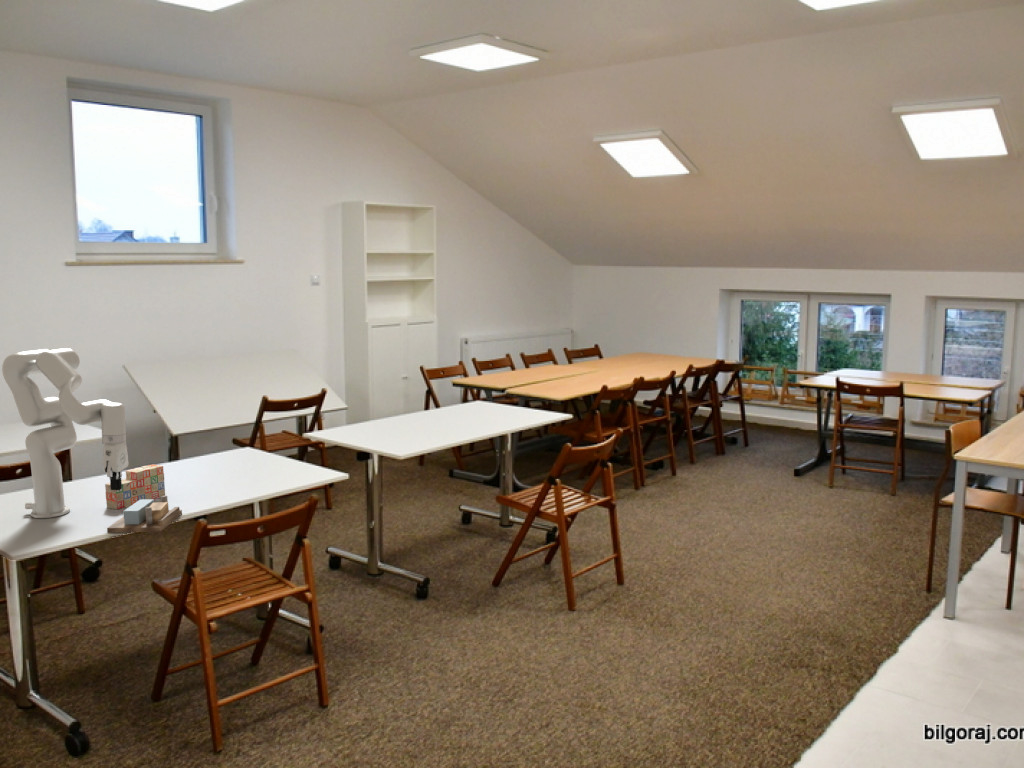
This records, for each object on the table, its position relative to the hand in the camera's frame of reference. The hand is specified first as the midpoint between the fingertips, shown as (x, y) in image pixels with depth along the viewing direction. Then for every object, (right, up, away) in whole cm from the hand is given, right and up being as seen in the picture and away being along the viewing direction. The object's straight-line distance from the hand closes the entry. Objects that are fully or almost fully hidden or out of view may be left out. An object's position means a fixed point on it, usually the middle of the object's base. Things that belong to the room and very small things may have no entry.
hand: (116, 489), depth 301 cm
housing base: (+10, -12, +2) cm, 16 cm away
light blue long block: (+8, -10, +1) cm, 13 cm away
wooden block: (+14, -10, +1) cm, 18 cm away
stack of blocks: (-5, -8, +28) cm, 30 cm away
